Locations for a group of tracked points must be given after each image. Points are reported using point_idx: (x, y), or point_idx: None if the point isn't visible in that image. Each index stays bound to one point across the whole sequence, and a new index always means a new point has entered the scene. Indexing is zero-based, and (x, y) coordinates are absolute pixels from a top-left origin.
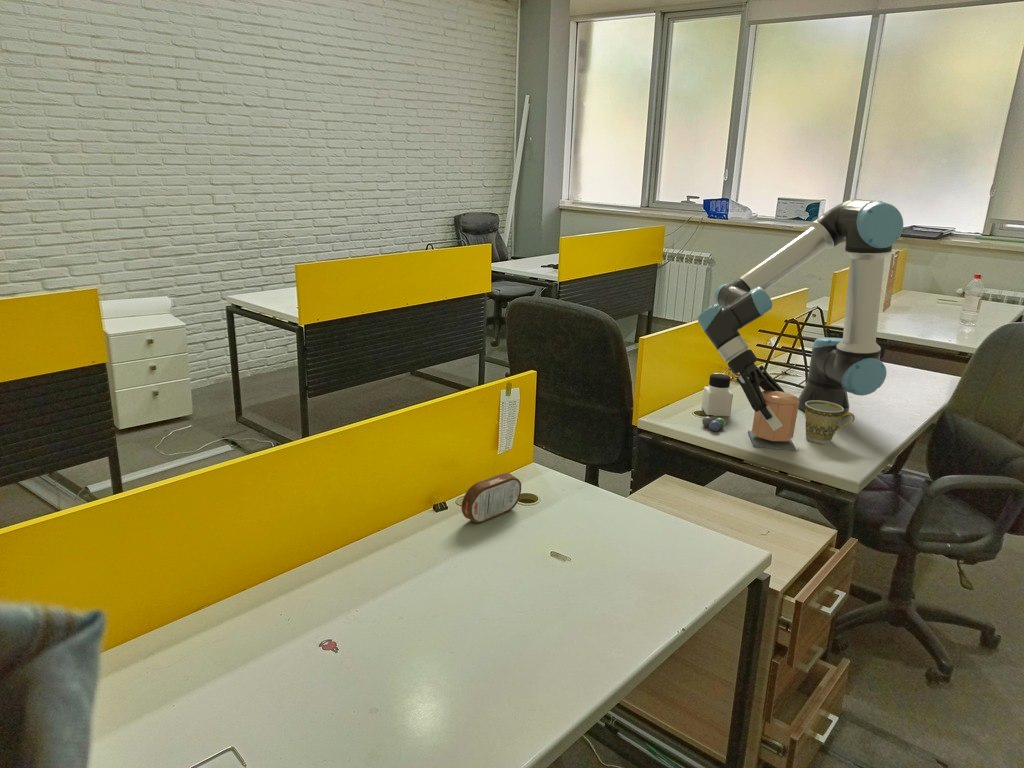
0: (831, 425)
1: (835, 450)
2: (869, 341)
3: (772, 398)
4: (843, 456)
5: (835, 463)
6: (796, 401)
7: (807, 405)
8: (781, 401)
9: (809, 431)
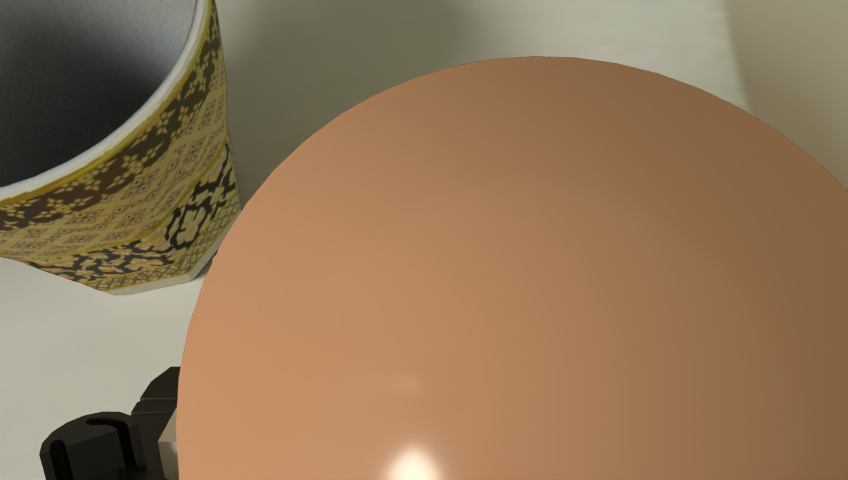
0: (177, 21)
1: (294, 68)
2: None
3: (825, 396)
4: (367, 10)
5: (527, 8)
6: (550, 63)
7: (105, 143)
8: (823, 207)
9: (208, 220)
